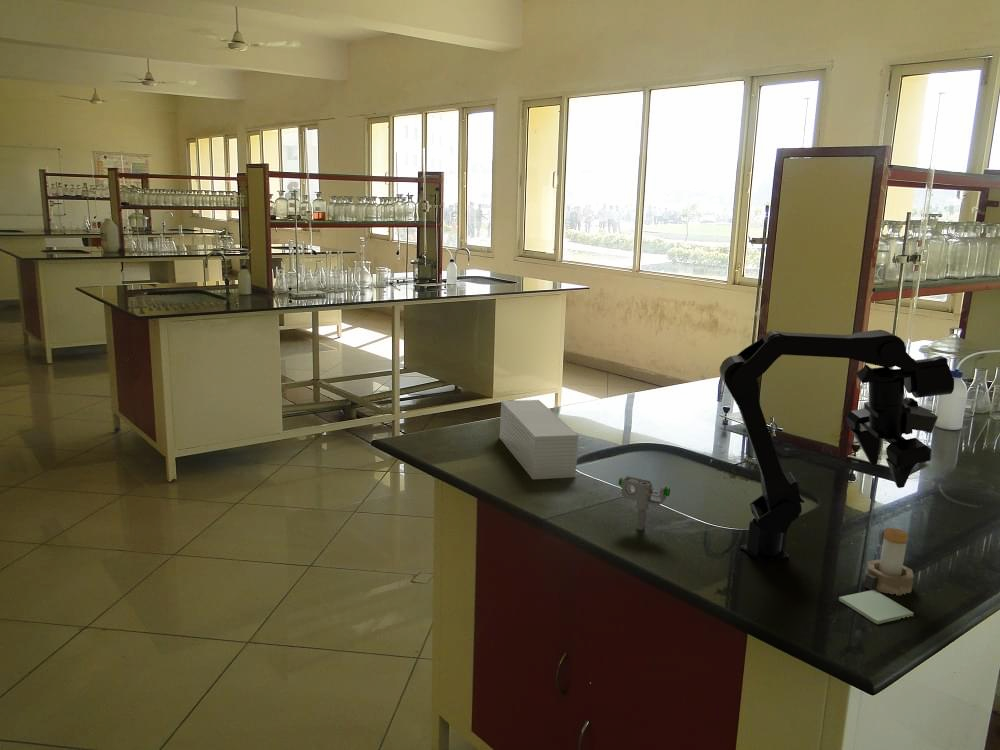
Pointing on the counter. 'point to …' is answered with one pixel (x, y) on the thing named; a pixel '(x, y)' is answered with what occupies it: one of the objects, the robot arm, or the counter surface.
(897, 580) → the beige hollow ring
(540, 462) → the stack of papers
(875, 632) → the counter surface
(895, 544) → the bottle with orange cap
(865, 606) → the mat
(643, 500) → the mechanical component
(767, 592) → the counter surface
